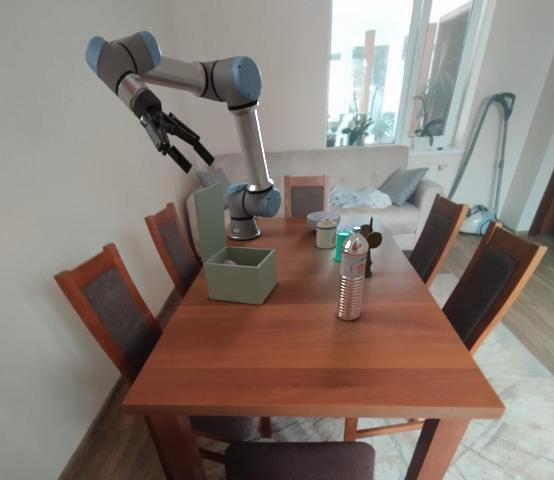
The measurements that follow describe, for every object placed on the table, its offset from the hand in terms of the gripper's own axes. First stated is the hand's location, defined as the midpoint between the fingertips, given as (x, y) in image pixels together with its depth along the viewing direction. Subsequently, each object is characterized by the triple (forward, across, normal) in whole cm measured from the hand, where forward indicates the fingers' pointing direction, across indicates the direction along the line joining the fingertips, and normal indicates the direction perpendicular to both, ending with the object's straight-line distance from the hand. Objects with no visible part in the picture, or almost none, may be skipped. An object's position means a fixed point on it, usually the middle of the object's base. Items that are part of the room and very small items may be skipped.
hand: (201, 166), depth 94 cm
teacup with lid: (+46, +53, +7) cm, 70 cm away
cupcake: (+31, 0, +19) cm, 36 cm away
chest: (+33, 0, +20) cm, 39 cm away
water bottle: (+59, -9, -6) cm, 60 cm away
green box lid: (+11, 0, +10) cm, 15 cm away
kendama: (+60, +22, -7) cm, 65 cm away
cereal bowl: (+42, +74, +11) cm, 86 cm away
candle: (+53, +36, 0) cm, 64 cm away
